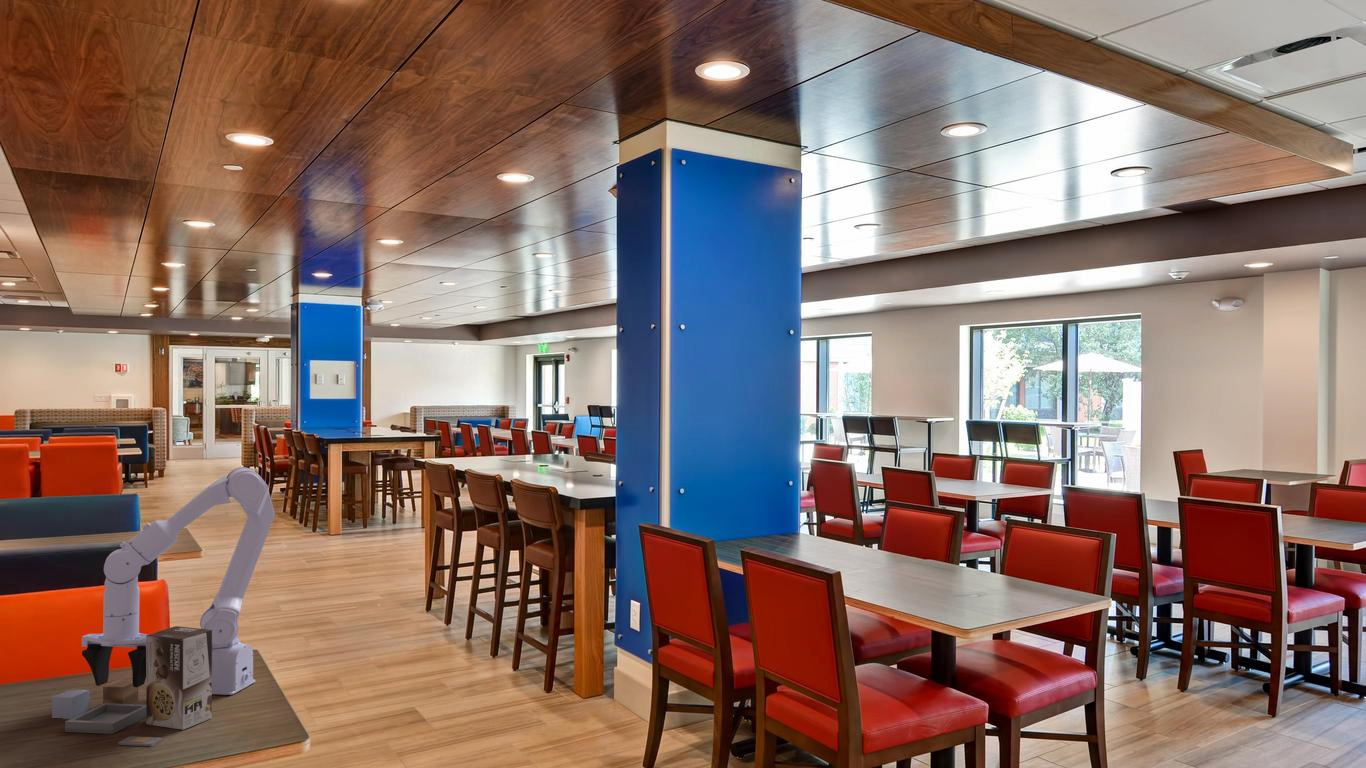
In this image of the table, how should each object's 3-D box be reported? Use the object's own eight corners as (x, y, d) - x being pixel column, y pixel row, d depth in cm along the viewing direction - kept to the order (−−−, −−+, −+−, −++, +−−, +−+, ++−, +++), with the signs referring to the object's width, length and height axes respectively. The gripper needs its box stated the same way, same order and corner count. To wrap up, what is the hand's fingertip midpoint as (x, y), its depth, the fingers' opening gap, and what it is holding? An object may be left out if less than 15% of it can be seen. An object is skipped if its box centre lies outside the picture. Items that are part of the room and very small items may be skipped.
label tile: (162, 740, 145) (162, 737, 145) (151, 746, 143) (151, 743, 143) (129, 738, 146) (129, 735, 146) (118, 744, 143) (118, 741, 143)
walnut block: (138, 700, 164) (138, 680, 164) (122, 708, 160) (122, 687, 160) (118, 700, 164) (119, 679, 164) (102, 707, 160) (103, 686, 160)
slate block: (89, 711, 159) (89, 690, 159) (72, 719, 155) (72, 697, 155) (69, 710, 159) (69, 689, 159) (51, 718, 155) (52, 696, 155)
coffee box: (213, 718, 155) (214, 629, 155) (182, 731, 149) (183, 638, 149) (176, 711, 158) (176, 624, 158) (143, 724, 152) (144, 633, 152)
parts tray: (150, 714, 157) (150, 704, 157) (112, 733, 148) (113, 723, 148) (104, 712, 158) (105, 703, 158) (65, 731, 149) (65, 721, 149)
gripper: (69, 617, 159) (68, 690, 159) (141, 619, 158) (140, 693, 158) (98, 608, 166) (97, 678, 166) (168, 610, 165) (167, 680, 165)
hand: (120, 684), depth 162 cm, fingers open, 7 cm apart
